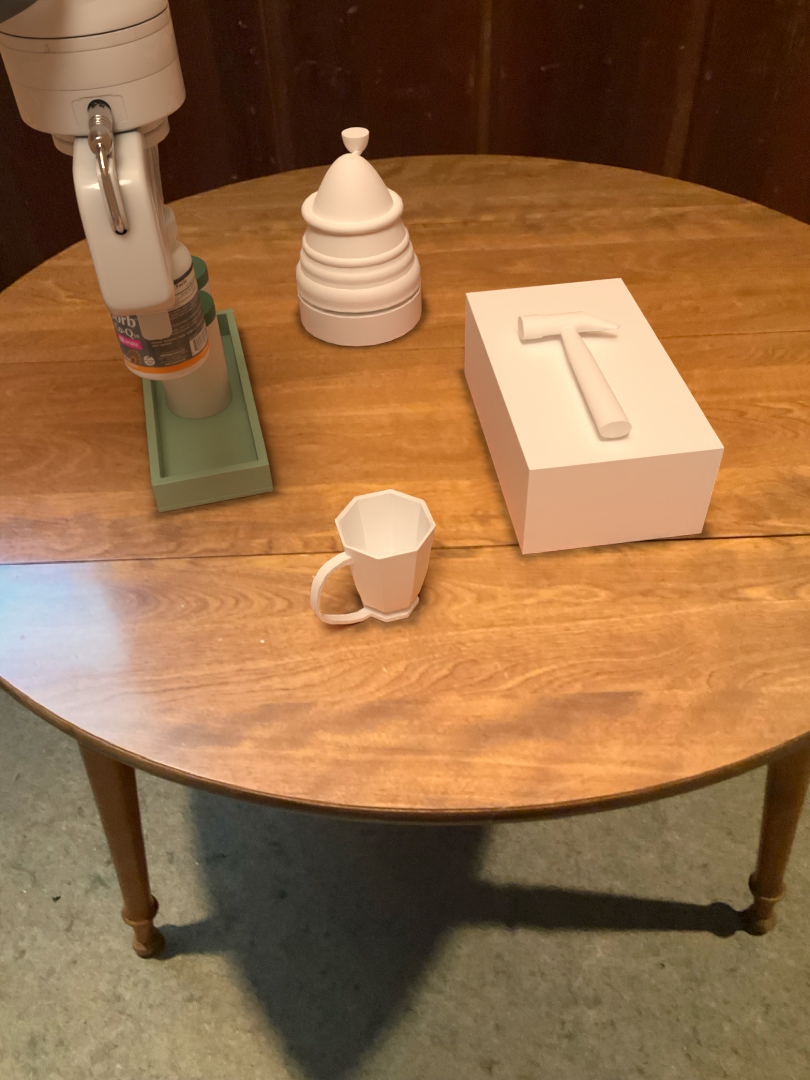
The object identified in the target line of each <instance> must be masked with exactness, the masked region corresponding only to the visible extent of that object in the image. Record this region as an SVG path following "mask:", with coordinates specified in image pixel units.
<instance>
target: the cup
mask: <svg viewBox="0 0 810 1080" xmlns="http://www.w3.org/2000/svg"><path fill="white" fill-rule="evenodd" d="M429 509H430V508H429V507H428V505H427V503H426V501H425V500H424V499H422V498H419V497H416V496H413V495H411V494H407V493H405V492H402V491H399V490H396V489H393V488H388V489H382V490H379V491H374V492H371V493H365V494H361V495H360V494H359V495H355V496H353V498H352V499H350V501H349V502H348V503H347V504H346V506H345V507H344V508H343V509H342V510H341V512H340V513H339V514H338V515H337V517H336V518H335V519H334V523H335V526H336V527H335V528H336V529H337V534H338V536H339V539H340V543H341V546H342V548H343V552H340V553H338V554H336V555H334V556H333V557H332V558H330V559H328V560H327V561H326V562H324V564H323V565H322V566H321V567H319V569H318V571H317V572H316V575H315V577H314V578H313V580H312V581H311V587H310V593H309V607H310V610H311V611H312V613H314V616H316V617H317V618H318V620H320V622H323V623H326V624H329V625H350V624H351V625H352V624H357V623H360V622H364V621H366V620H367V619H369V618H374V619H376V620H379V621H381V622H384V623H389V622H394V621H398V620H399V621H400V620H402V619H407V618H409V617H410V615H411V614H412V613H413V612H414V610H415V608H416V607H417V606H418V604H419V602H420V598H419V596H418V595H419V594H420V592H421V589H422V587H423V585H424V581H425V578H426V576H427V573H428V568H429V563H430V558H431V553H432V548H433V543H434V537H435V533H436V527H437V524H436V522H435V520H434V518H433V515H432V514H431V511H430V510H429ZM347 566H348V568H349V571H350V574H351V577H352V579H353V582H354V585H355V588H356V591H357V593H358V595H359V597H360V601H361V603H362V607H363V608H361V609H359V610H358V611H354V612H350V613H345V614H330V613H329V614H328V613H323V612H321V597H322V590H323V588H324V586H325V584H326V583H327V581H328V579H329V578H330V576H331V575H332V574H333V573H334V572H335V571H337V570H340V569H342V568H344V567H347Z"/></svg>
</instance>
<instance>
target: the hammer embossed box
mask: <svg viewBox="0 0 810 1080" xmlns="http://www.w3.org/2000/svg"><path fill="white" fill-rule="evenodd" d="M464 305H465V307H464V309H465V312H464V313H465V314H464V318H465V319H464V359H463V361H464V363H463V364H464V365H463V366H464V367H463V372H464V377H465V380H466V383H467V386H468V389H469V393H470V396H471V399H472V401H473V404H474V408H475V410H476V414H477V417H478V420H479V424H480V427H481V429H482V430H481V431H482V433H483V437H484V439H485V442H486V446H487V449H488V452H489V454H490V459H491V462H492V464H493V467H494V471H495V474H496V478H497V479H498V483H499V486H500V489H501V493H502V496H503V498H504V502H505V505H506V508H507V511H508V514H509V518H510V521H511V524H512V527H513V530H514V533H515V536H516V540H517V542H518V546H519V550H520V553H521V555H532V554H539V553H541V554H542V553H547V552H555V551H565V550H573V549H583V548H589V547H599V546H606V545H614V544H615V545H616V544H622V543H623V544H624V543H631V542H640V541H648V540H657V539H665V538H673V537H681V536H688V535H690V536H691V535H699V534H702V533H703V528H704V526H705V525H704V524H705V522H706V517H707V514H708V510H709V506H710V503H711V499H712V495H713V492H714V489H715V485H716V481H717V478H718V474H719V471H720V466H721V463H722V459H723V456H724V452H725V447H724V445H723V443H722V441H721V440H720V438H719V436H718V435H717V433H716V431H715V429H713V427H712V425H711V424H710V422H709V420H708V418H707V417H706V415H705V413H704V412H703V410H702V408H701V407H700V405H699V403H698V402H697V400H696V399H695V397H694V396H693V394H692V392H691V390H690V389H689V387H688V386H687V384H686V382H685V380H684V379H683V377H682V376H681V374H680V372H679V371H678V369H677V367H676V366H675V364H674V363H673V361H672V359H671V358H670V355H668V353H667V351H666V349H665V348H664V346H663V344H662V343H661V341H660V340H659V338H658V336H657V334H656V333H655V332H654V330H653V328H652V326H651V325H650V323H649V322H648V320H647V318H646V317H645V315H644V314H643V311H642V310H641V308H640V307H639V305H638V304H637V301H635V298H634V297H633V295H632V293H631V292H630V291H629V289H628V287H627V285H626V284H625V282H624V281H623V278H622V277H616V278H605V279H595V280H587V281H575V282H565V283H555V284H544V285H535V286H524V287H514V288H503V289H493V290H483V291H471V292H465V304H464Z"/></svg>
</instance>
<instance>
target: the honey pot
mask: <svg viewBox="0 0 810 1080" xmlns="http://www.w3.org/2000/svg"><path fill="white" fill-rule="evenodd" d="M341 139H342V141H343V144H344V147H345V148H346V150H347V151H348V152H349V153H345V154H342V155H341V156H339V157H337V158H336V159H335V160H334V161H333V163H332V164H331V165H330V167H329V168H328V169H327V171H326V173H325V175H324V177H323V179H322V181H321V182H320V185H319V187H318V190H316V191H315V192H313V193H311V194H310V195H308V197H307V198H305V199H304V201H303V203H302V205H301V208H300V211H301V213H300V214H301V217H302V219H303V221H304V222H305V223H306V224H307V226H306V229H305V232H304V233H303V236H302V238H301V249H300V251H299V260H298V262H297V264H296V265H295V281H296V289H297V298H298V299H297V300H298V307H299V314H300V322H301V324H302V326H303V328H304V329H305V331H307V332H308V333H309V334H310V335H312V336H313V337H314V338H316V339H318V340H321V341H323V342H325V343H328V344H333V345H337V346H338V345H339V346H347V347H367V346H375V345H379V344H383V343H389V342H391V341H393V340H396V339H398V338H401V337H403V336H404V335H406V334H407V333H409V332H411V331H412V330H413V329H414V328H415V327H416V325H417V324H418V323H419V322H420V320H421V316H422V313H423V312H422V311H423V307H422V282H421V281H422V277H421V272H422V269H421V265H420V260H419V257H418V255H417V254H416V252H415V249H414V246H413V242H412V241H411V237H410V233H409V229H408V228H407V227H406V225H405V224H404V222H403V220H402V217H401V216H402V214H403V211H404V208H405V207H404V203H403V199H402V197H401V196H400V195H399V194H398V193H397V192H396V191H394V190H392V189H390V188H389V187H387V185H386V184H385V182H384V180H383V178H382V177H381V175H380V174H379V173H378V171H377V170H376V169H375V168H374V166H373V165H372V164H371V163H370V162H369V161H368V160H367V159H365V158H364V157H363V156H361V155H362V154H363V152H364V150H366V148H367V146H368V143H369V139H370V131H369V130H368V129H367V128H365V127H358V126H357V127H356V126H355V127H349V128H346V129H343V130H342V131H341Z"/></svg>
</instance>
